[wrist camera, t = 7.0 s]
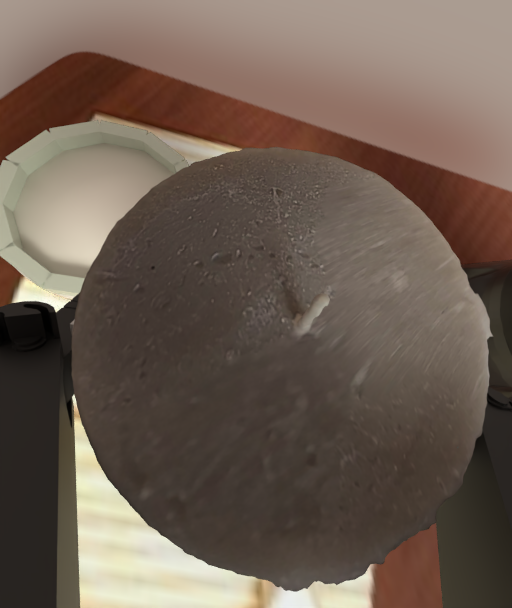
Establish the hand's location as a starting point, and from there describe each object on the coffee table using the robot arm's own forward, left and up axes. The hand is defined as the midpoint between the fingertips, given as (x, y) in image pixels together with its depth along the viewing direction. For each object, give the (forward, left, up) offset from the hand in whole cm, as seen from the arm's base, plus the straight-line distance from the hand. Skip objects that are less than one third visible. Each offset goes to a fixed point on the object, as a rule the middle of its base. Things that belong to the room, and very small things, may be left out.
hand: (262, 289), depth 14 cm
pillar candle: (0, +3, -7) cm, 7 cm away
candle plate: (+13, -8, -10) cm, 18 cm away
